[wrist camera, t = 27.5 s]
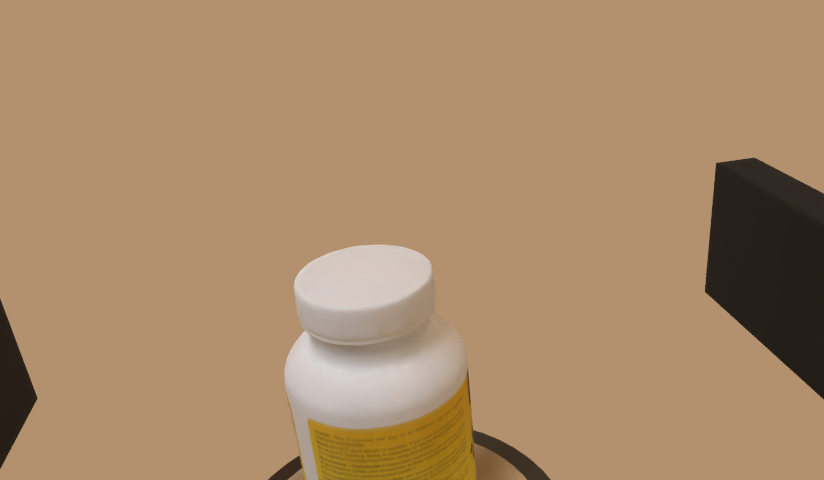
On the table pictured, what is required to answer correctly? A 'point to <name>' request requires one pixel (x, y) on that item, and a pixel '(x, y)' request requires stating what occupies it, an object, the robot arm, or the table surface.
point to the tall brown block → (494, 461)
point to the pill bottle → (377, 371)
